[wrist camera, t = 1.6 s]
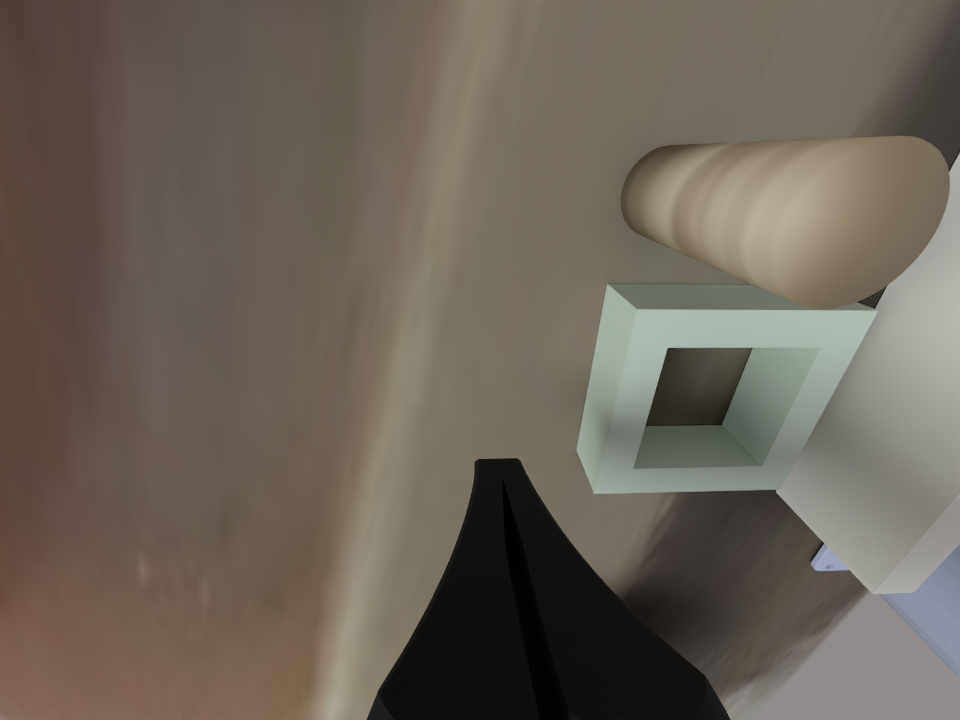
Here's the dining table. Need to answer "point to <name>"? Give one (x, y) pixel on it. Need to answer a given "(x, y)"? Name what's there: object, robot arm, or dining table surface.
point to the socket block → (754, 407)
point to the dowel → (794, 210)
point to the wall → (894, 430)
